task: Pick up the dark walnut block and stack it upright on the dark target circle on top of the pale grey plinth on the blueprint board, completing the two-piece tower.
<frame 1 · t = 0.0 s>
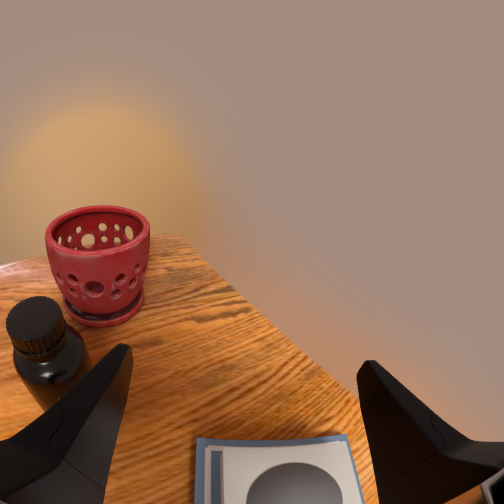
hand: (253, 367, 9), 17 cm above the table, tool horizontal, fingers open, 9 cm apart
plant pot: (106, 306, 33), on the table
supplement bottle: (77, 407, 19), on the table
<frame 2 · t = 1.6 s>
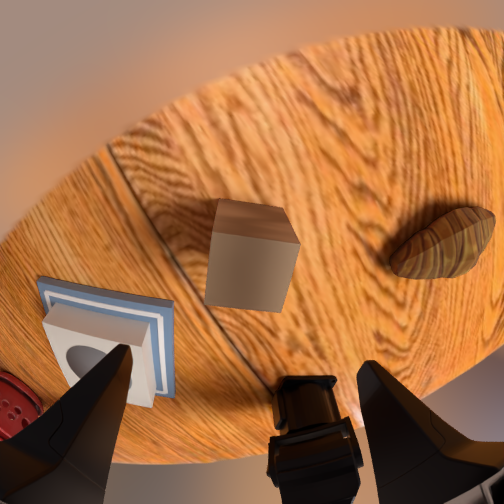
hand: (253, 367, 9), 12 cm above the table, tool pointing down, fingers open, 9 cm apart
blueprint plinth: (109, 342, 25), on the table
plant pot: (21, 387, 31), on the table
walnut block: (245, 232, 20), on the table
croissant: (441, 232, 21), on the table
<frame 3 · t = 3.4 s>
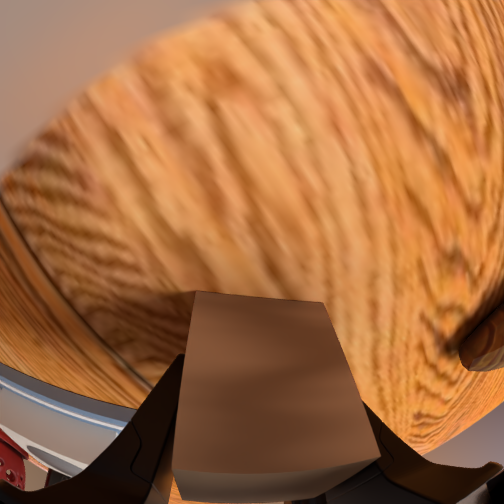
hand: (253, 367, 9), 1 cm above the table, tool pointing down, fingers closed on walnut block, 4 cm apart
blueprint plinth: (77, 429, 15), on the table
plant pot: (3, 431, 22), on the table
supplement bottle: (73, 464, 23), on the table
walnut block: (251, 342, 10), on the table, touching gripper
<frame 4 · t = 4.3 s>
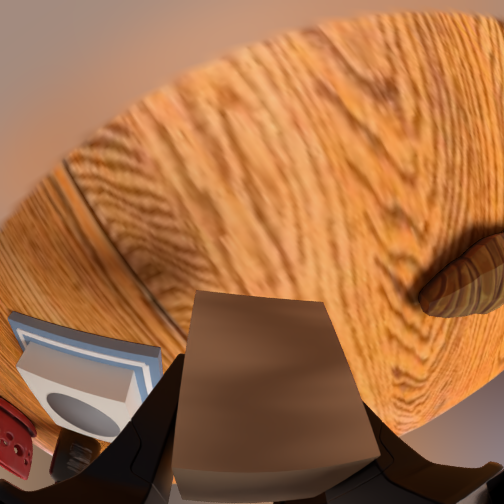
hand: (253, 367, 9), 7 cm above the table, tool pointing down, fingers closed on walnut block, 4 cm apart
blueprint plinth: (94, 382, 20), on the table
plant pot: (13, 409, 27), on the table
supplement bottle: (81, 436, 28), on the table
walnut block: (251, 342, 10), point 5 cm above the table, touching gripper
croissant: (474, 258, 17), on the table
when the fingers open (7 cm above the table, at t = 7.2 s): walnut block drops 1 cm, resting on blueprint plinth.
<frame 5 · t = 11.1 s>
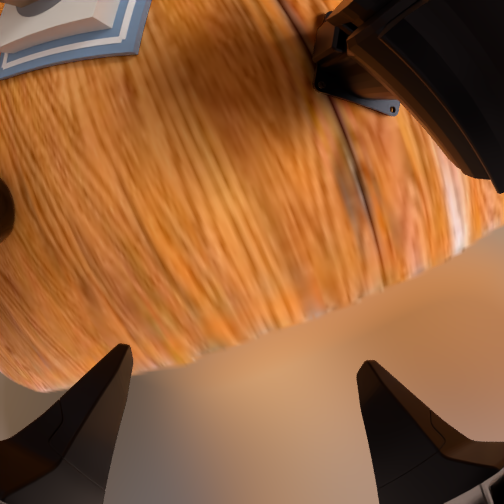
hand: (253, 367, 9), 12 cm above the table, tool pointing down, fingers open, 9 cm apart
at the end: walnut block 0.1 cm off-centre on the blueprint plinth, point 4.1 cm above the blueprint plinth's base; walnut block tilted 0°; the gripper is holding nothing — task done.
